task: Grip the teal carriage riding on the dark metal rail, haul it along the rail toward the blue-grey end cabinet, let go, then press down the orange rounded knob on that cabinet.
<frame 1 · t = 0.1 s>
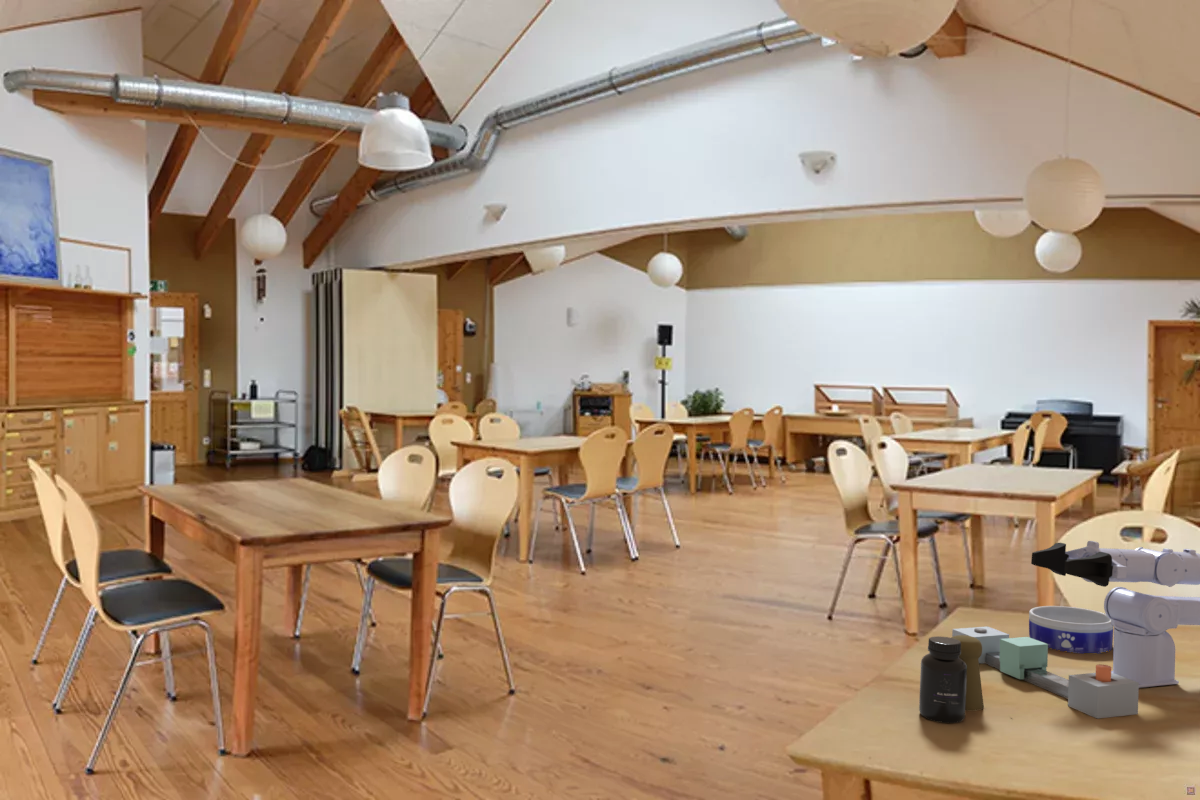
hand: (1049, 562, 163), 22 cm above the table, tool horizontal, fingers open, 7 cm apart
carriage: (1023, 657, 171), point 3 cm above the table, slide at 0.0 cm
rail: (1035, 681, 168), on the table
supplement bottle: (942, 717, 150), on the table
end cabinet: (1102, 709, 153), on the table
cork: (963, 705, 155), on the table
dog bowl: (1069, 644, 193), on the table
orange rounded knob: (1103, 678, 153), point 5 cm above the table, slide at 0.0 cm
far cabinet: (979, 657, 182), on the table
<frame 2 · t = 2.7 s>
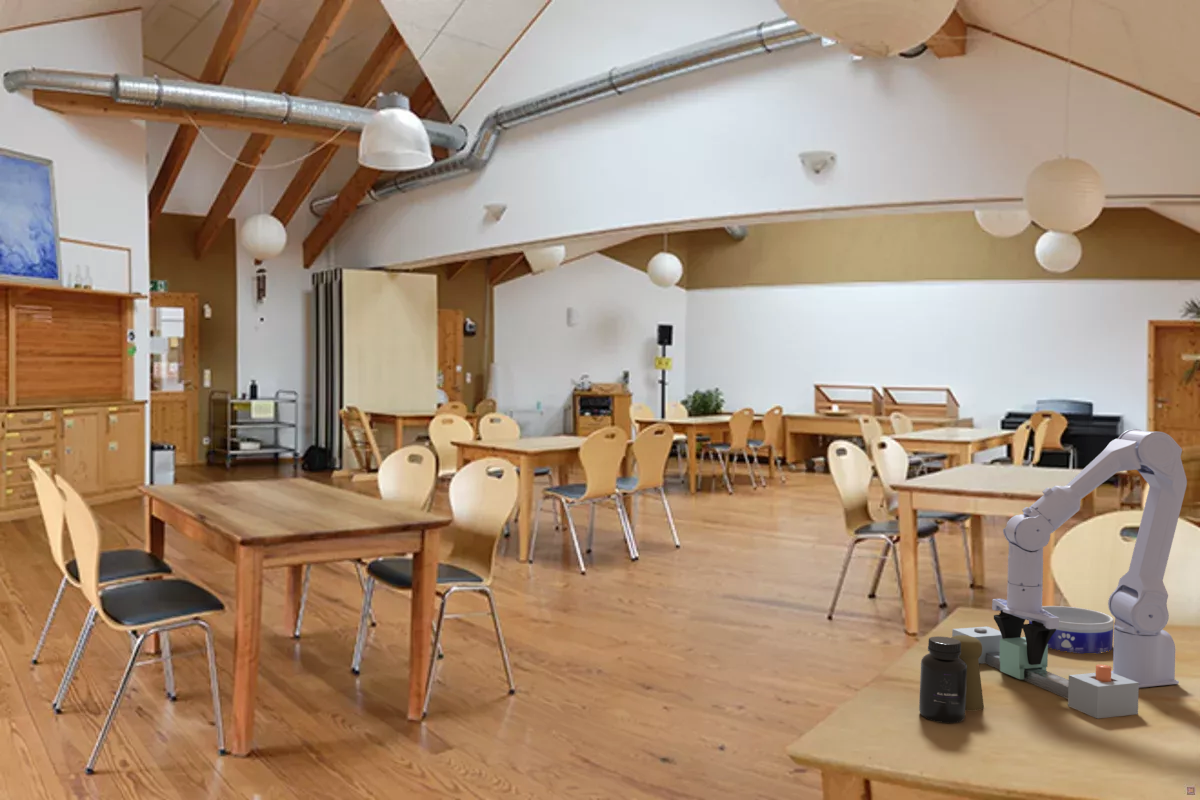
hand: (1023, 659, 171), 3 cm above the table, tool pointing down, fingers closed on carriage, 5 cm apart
carriage: (1023, 657, 171), point 3 cm above the table, slide at 0.0 cm, touching gripper
everything else where it was.
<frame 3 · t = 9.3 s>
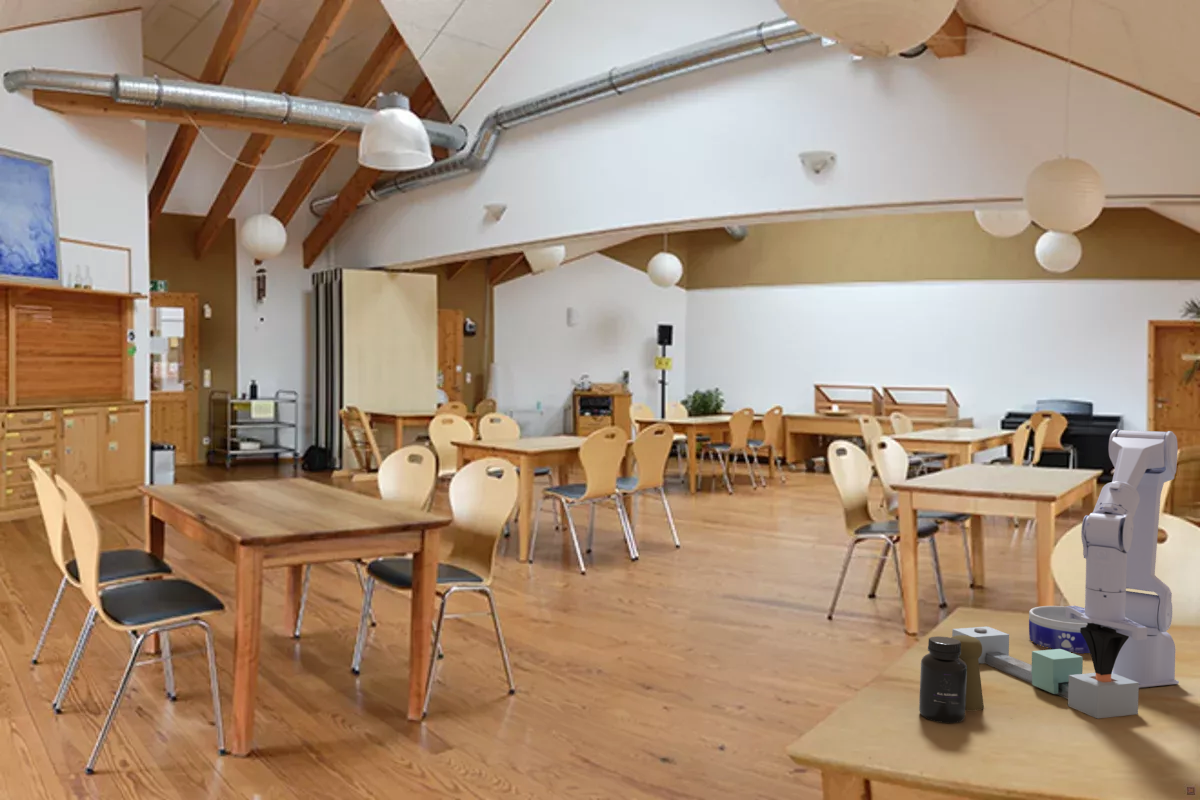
hand: (1103, 673, 153), 6 cm above the table, tool pointing down, fingers closed, pressing on orange rounded knob
carriage: (1056, 671, 163), point 3 cm above the table, slide at 8.0 cm
orange rounded knob: (1103, 685, 153), point 4 cm above the table, slide at 1.1 cm, touching gripper
everything else where it was.
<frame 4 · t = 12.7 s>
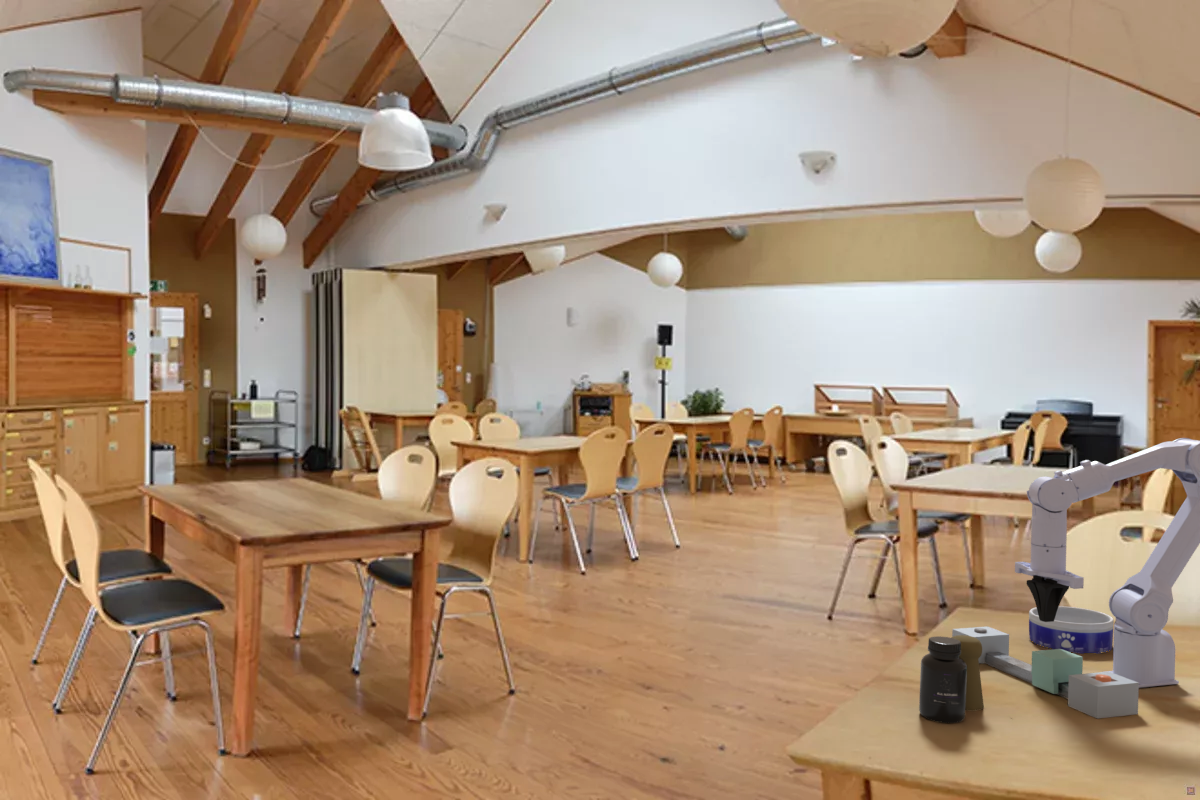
hand: (1046, 620, 171), 10 cm above the table, tool pointing down, fingers closed
orange rounded knob: (1103, 688, 153), point 3 cm above the table, slide at 1.6 cm
everything else where it was.
at the end: carriage slide at 8.0 cm; orange rounded knob slide at 1.6 cm; the gripper is holding nothing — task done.
